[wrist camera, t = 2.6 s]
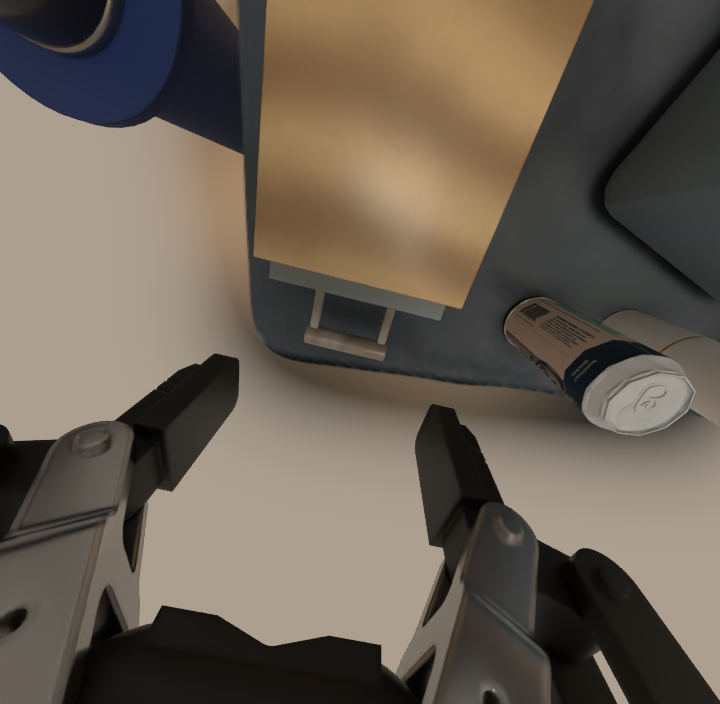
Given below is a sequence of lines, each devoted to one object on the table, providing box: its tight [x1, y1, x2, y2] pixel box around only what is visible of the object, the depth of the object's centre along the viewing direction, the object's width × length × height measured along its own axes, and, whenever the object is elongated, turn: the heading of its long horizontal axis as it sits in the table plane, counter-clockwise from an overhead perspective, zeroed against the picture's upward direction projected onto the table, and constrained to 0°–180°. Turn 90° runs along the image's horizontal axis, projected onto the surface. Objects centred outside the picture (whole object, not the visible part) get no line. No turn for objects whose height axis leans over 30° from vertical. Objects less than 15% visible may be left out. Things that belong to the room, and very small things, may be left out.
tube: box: [601, 310, 720, 427], centre depth 18 cm, size 4×4×15 cm
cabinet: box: [253, 0, 594, 309], centre depth 15 cm, size 15×12×9 cm
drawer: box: [269, 261, 446, 361], centre depth 17 cm, size 18×10×7 cm, turn 167°
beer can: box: [504, 297, 696, 436], centre depth 19 cm, size 5×5×12 cm
